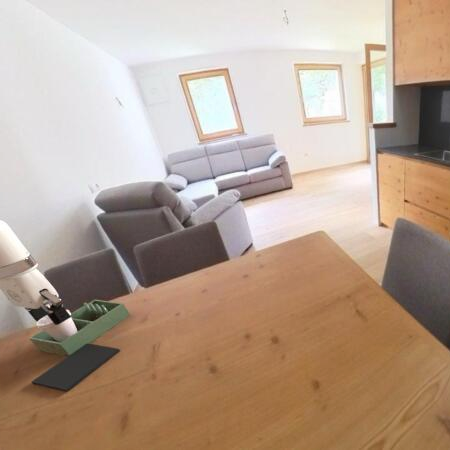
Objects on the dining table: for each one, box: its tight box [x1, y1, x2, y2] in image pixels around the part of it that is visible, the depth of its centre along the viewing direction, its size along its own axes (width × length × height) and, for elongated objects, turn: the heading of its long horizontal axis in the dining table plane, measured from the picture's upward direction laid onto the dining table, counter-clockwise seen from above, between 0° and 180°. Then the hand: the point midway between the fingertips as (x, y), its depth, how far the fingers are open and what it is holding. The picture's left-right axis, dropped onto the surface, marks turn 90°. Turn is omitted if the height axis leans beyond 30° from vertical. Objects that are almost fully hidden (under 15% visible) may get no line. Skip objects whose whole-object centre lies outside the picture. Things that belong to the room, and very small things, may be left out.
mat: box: [31, 343, 121, 393], centre depth 74 cm, size 12×12×1 cm
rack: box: [28, 299, 131, 357], centre depth 84 cm, size 12×16×7 cm
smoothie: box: [35, 304, 79, 343], centre depth 79 cm, size 6×6×14 cm
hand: (53, 319), depth 78 cm, fingers closed on smoothie, 6 cm apart
